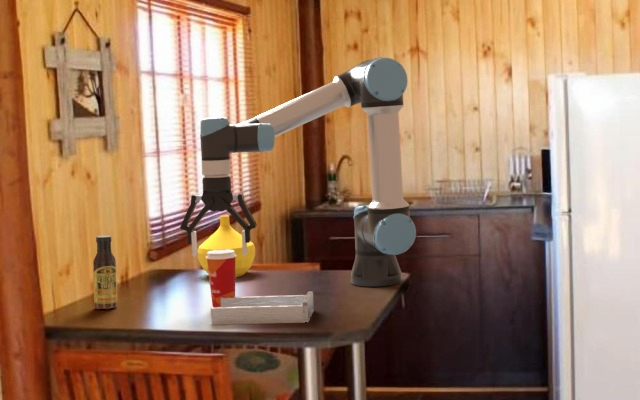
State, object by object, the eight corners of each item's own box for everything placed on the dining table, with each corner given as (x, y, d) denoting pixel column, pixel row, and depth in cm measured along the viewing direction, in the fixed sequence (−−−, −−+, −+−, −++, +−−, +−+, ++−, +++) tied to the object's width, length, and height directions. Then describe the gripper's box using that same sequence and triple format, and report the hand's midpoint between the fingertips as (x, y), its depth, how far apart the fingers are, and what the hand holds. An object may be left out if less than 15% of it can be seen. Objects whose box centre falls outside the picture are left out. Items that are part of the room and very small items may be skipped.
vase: (225, 268, 313) (222, 211, 311) (268, 272, 302) (265, 213, 300) (186, 278, 298) (183, 218, 296) (230, 282, 287) (227, 220, 285)
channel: (313, 310, 243) (312, 291, 242) (308, 322, 230) (307, 302, 229) (222, 312, 245) (221, 293, 245) (211, 324, 232) (210, 304, 231)
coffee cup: (209, 304, 256) (205, 250, 255) (239, 302, 257) (236, 248, 256) (208, 311, 248) (204, 254, 247) (239, 309, 249) (236, 253, 247)
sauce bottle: (97, 311, 253) (92, 238, 251) (92, 307, 259) (87, 236, 257) (121, 308, 256) (116, 236, 254) (115, 304, 262) (110, 233, 260)
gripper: (265, 173, 252) (268, 252, 254) (173, 176, 254) (177, 253, 256) (260, 175, 244) (263, 256, 246) (166, 178, 246) (170, 258, 249)
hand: (219, 255), depth 251 cm, fingers open, 13 cm apart
